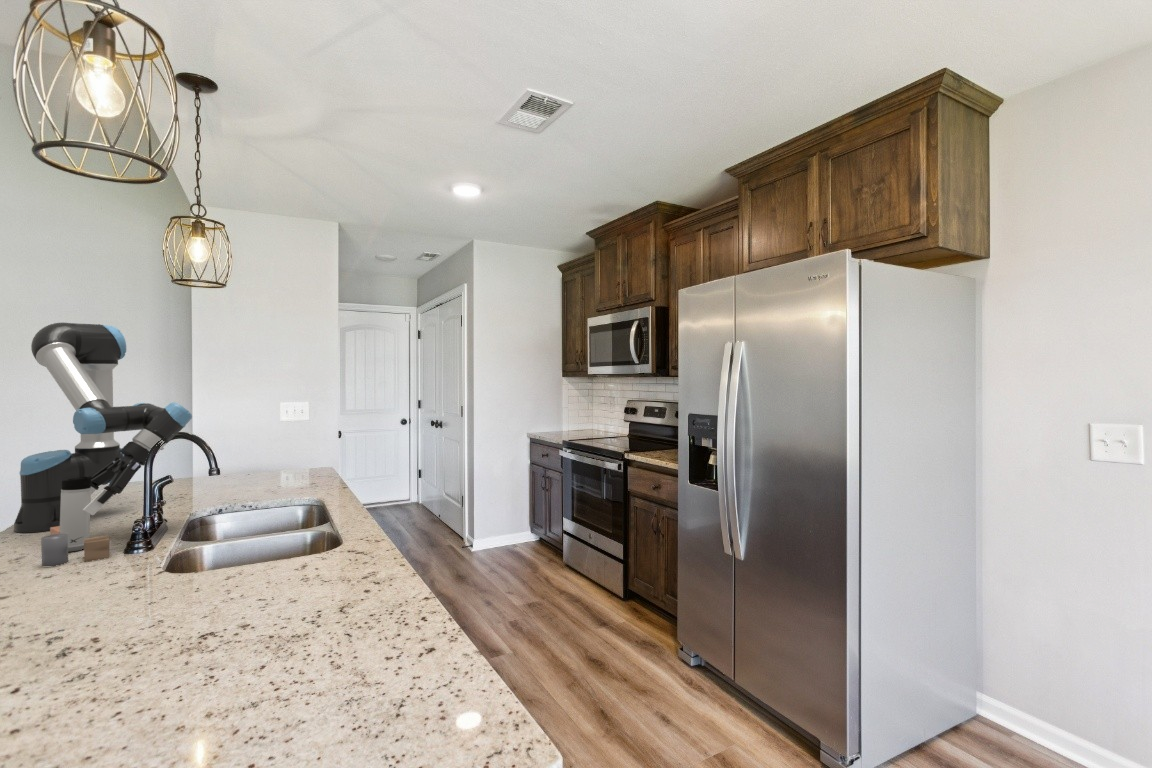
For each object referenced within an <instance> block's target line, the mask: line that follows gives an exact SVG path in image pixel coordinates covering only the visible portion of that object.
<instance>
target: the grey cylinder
mask: <svg viewBox="0 0 1152 768" xmlns="http://www.w3.org/2000/svg"><path fill="white" fill-rule="evenodd" d="M40 541H41V542H40V545H41V549H40V550H41V567H42V566H53V567H57V566H56V565H59V566H62V565H61V564H63V565H65V564H64V563H66V564H67V562H68V563H69V552H68V534H55V535H50V534H49V535H45V536H42V537H41V538H40Z"/></svg>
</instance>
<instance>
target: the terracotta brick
mask: <svg viewBox="0 0 1152 768" xmlns="http://www.w3.org/2000/svg"><path fill="white" fill-rule="evenodd" d="M49 531H50V533H49V535H55V534H60V526H56V527H50V530H49Z"/></svg>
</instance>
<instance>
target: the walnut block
mask: <svg viewBox="0 0 1152 768" xmlns="http://www.w3.org/2000/svg"><path fill="white" fill-rule="evenodd" d="M83 551H84V554H83V555H84V563H87V562H86V561H88V562H93V561H92V560H94V561H99V560H98V559H100V560H105V559H104V558H106V559H110V558H109V557H111V556H110V554H111V552H110V535H109V534H108V535H100V536H95V537H89V538H87V539H84V549H83Z"/></svg>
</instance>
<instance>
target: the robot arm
mask: <svg viewBox="0 0 1152 768" xmlns="http://www.w3.org/2000/svg"><path fill="white" fill-rule="evenodd" d="M30 349H31V353H32V355H33V358H34V360H35V361H36V362H37V363H38V365H40V366H43V367H45V368H46V369H47V370H48V372H49V373H50V375H51V376H52V378H53V379H54V381H55V382H56V384H57V385H58V387H59V388H60V389H61V391H62V392H63V394H64V396H65V397H66V398H67V400H68V401H69V403H70V404H71V405H72V407H73V408H74V410H75V411H74V413H73V417H72V424H73V426H74V427H73V428H74V430H75V431H76V432H77V433H78V434H80V441H79V442H78V443H77V444H76V445H75V446H74V452H73V453H71V451H70V450H69V449H57V450H56V449H55V450H48V451H43V452H39V453H35V454H31V455H27V456H26V457H24V458H23V459H22V460H21V461H20V468H19V469H20V471H19V477H20V478H19V479H20V497H21V498H20V499H21V500H20V501H21V504H20V508H19V509H18V512H17V516H16V518H15V519H14V523H13V531H14V532H16V533H20V534H21V533H24V534H25V533H39V532H47V531H50V527H56V526H60V505H61V492H62V491H61V487H62V486H61V484H62V480H68V479H72V478H80V477H87V476H92V479H91V484H90V485H91V489H90V490H91V495H92V494H93V493H94V492H95V491H98V490H99V489H100V486H101V485H103V486H104V487H103V489H102V490H101V491H100V492H99V493H98V494H97V495H96V496H95V497H94V498H93V499H91V502H90V503H89V504H88V505H87V506H86V507H85V508H84V509H83V510H84V511H86V512H87V513H89V514H90V516H94V515H95V514H96V513H97V512H99V510H101V508H103V506H104V505H105V504H106V503H108V501H110V499H112V497H114V496H116V495H117V494H118V495H119V494H121V493H122V492H123V491H124V490H125V488H126V487H127V485H128V484H129V482H130V481H131V480H132V479H133V477H134V476H135V474H136V473H137V472H138V471H139V470H140V469H141V468H142V467H143V466H146V465H145V461H146V458H147V456H148V453H149V451H150V450H151V448H152V447H153V446H154V445H155V444H156V443H157V442H158V441H160V440H161V439H163V438H164V437H165V438H164V439H163V440H164V441H163V440H161V441H160V442H159V443H161V442H162V443H161V445H162V444H163V443H164V442H166V443H165V444H163V445H162V446H161V445H160V446H161V447H160V449H159V450H158V452H157V454H158V453H159V452H160V451H163V450H164V449H165V448H164V447H165V446H166V445H167V444H168V443H169V442H171V440H172V439H173V438H174V437H176V436H177V435H178V434H179V433H180V432H181V430H183V429H184V428H185V427H187V426H186V425H187V424H188V423H189V422H191V420H192V419H193V415H192V413H191V412H190V411H189V410H188V408H186V407H184V406H183V405H181V404H179V403H177V402H170V403H169V404H168V405H166V406H165V407H164V408H163V407H160V406H157V405H154V404H152V403H147V402H139V403H135V404H133V405H125V406H124V405H123V406H114V386H113V385H114V381H113V379H114V378H113V375H114V374H113V370H114V369H115V368H116V367H118V365H119V360H120V361H121V360H122V359H123V358H125V356H126V353H127V341H126V338H125V336H124V335H123V333H122V332H121V330H120V329H119V328H117V327H116V326H113V325H107V324H100V323H98V324H95V323H94V324H93V323H92V324H91V323H73V322H72V323H71V322H54V323H51V324H48V325H46V326H44V327H42V328H41V329H39V330H38V331H37V332H36V334H35V335H34V336H33V337H32V340H31V348H30ZM129 431H130V432H131V431H139V432H138V433H136V434H135V435H134V436H133V437H132V441H128V443H126V444H125V445H124V446H123V447H122V448H121V447H120V443H119V442H118V441H117V440H115V437H114V436H115V433H116V432H117V433H119V432H129ZM172 434H174V435H172ZM166 436H168V437H166ZM159 443H158V444H159ZM156 446H157V445H156ZM147 461H148V460H147ZM105 485H106V486H105Z"/></svg>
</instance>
